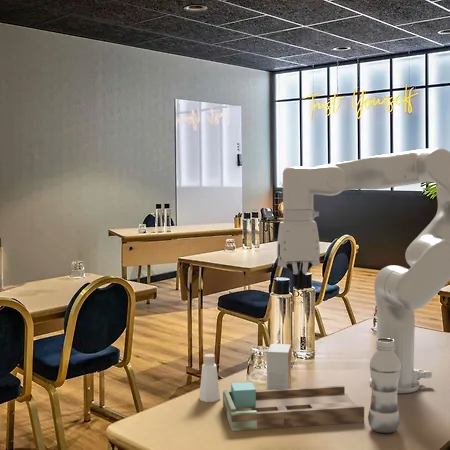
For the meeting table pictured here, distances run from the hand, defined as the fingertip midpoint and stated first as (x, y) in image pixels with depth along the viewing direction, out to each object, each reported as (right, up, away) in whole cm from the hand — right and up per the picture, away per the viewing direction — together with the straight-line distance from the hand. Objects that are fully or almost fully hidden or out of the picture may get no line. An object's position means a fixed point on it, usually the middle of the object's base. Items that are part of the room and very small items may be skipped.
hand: (299, 288), depth 153 cm
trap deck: (-3, -28, -12) cm, 30 cm away
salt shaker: (-22, -27, -2) cm, 35 cm away
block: (-14, -26, -10) cm, 31 cm away
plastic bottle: (+16, -29, -21) cm, 39 cm away
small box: (-4, -27, +6) cm, 28 cm away
